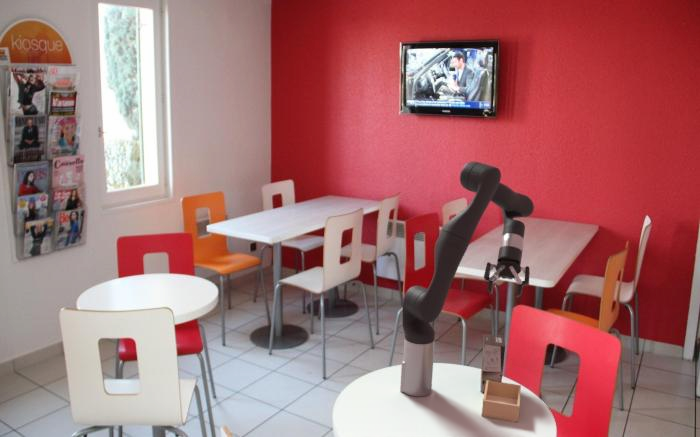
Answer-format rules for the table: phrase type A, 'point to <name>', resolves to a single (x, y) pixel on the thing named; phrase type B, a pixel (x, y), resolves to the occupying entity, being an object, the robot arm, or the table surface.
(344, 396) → the table surface
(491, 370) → the coffee box
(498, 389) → the open box
